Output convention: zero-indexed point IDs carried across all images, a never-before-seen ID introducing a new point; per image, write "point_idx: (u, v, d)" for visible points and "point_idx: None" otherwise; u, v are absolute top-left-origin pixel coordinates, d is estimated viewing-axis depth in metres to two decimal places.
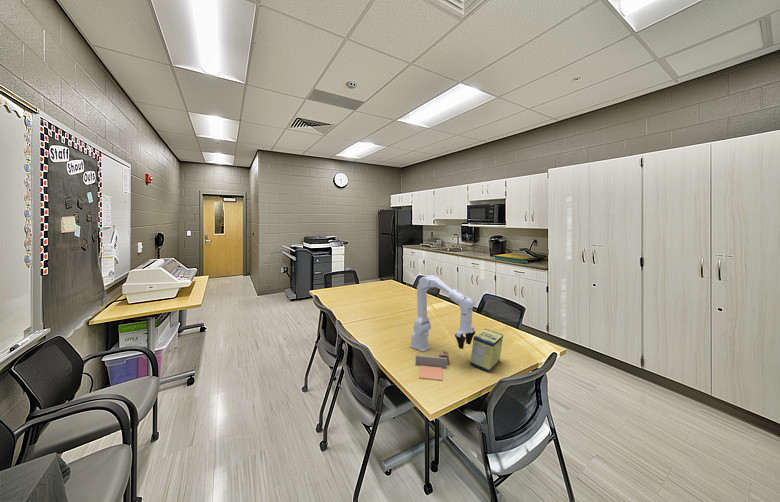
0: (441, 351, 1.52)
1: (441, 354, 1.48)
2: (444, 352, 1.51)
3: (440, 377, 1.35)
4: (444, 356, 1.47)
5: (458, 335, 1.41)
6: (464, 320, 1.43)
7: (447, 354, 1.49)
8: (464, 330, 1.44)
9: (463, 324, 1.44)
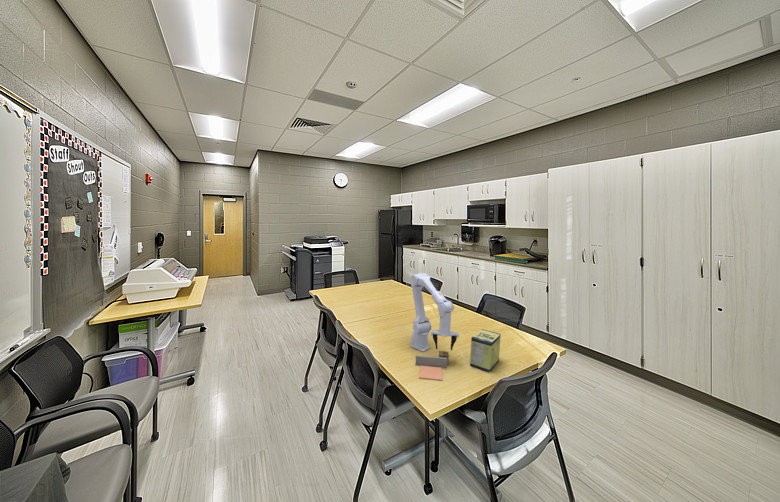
0: (441, 351, 1.52)
1: (441, 354, 1.48)
2: (444, 352, 1.51)
3: (440, 377, 1.35)
4: (444, 356, 1.47)
5: None
6: (441, 323, 1.46)
7: (447, 354, 1.49)
8: (439, 331, 1.48)
9: (439, 325, 1.48)
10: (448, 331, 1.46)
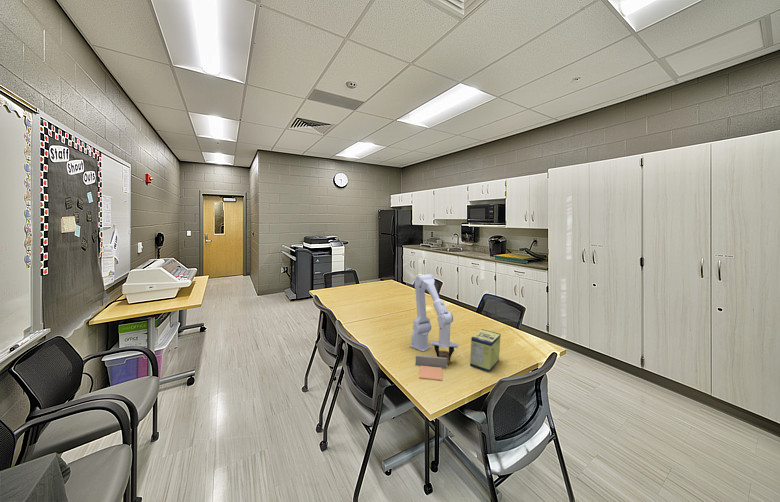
0: (441, 351, 1.52)
1: (441, 354, 1.48)
2: (444, 352, 1.51)
3: (440, 377, 1.35)
4: (444, 356, 1.47)
5: (430, 344, 1.50)
6: (441, 334, 1.47)
7: (447, 354, 1.49)
8: (439, 342, 1.49)
9: (439, 336, 1.49)
10: (448, 342, 1.47)
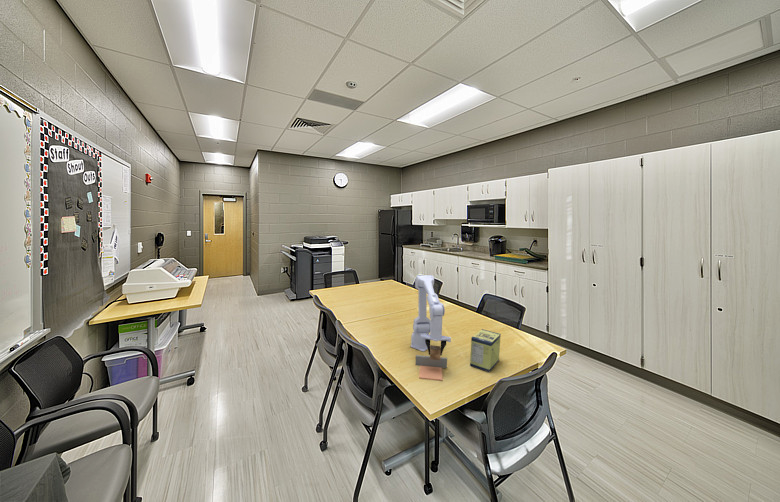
0: (433, 345, 1.43)
1: (433, 348, 1.39)
2: (436, 346, 1.42)
3: (440, 377, 1.35)
4: (436, 350, 1.38)
5: (421, 337, 1.41)
6: (431, 326, 1.38)
7: (439, 348, 1.40)
8: (430, 336, 1.39)
9: (430, 329, 1.40)
10: (439, 335, 1.37)
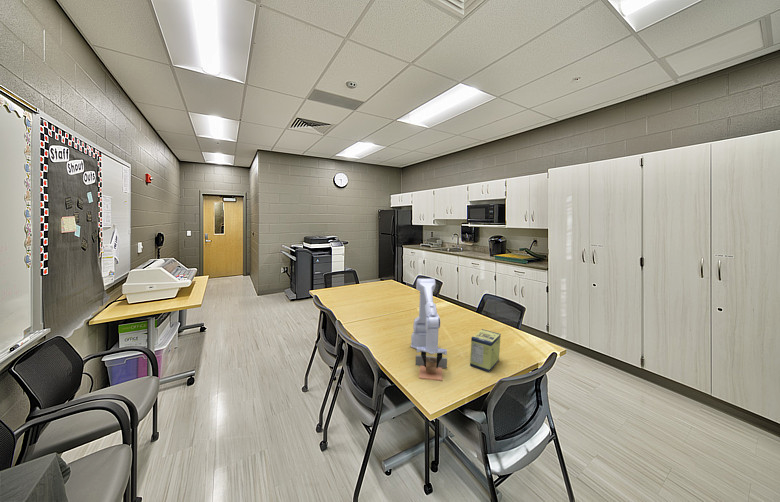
0: (429, 358, 1.40)
1: (428, 361, 1.37)
2: (432, 359, 1.39)
3: (440, 377, 1.35)
4: (431, 363, 1.36)
5: None
6: (426, 338, 1.36)
7: (435, 361, 1.37)
8: (426, 348, 1.37)
9: (426, 342, 1.37)
10: (435, 348, 1.35)
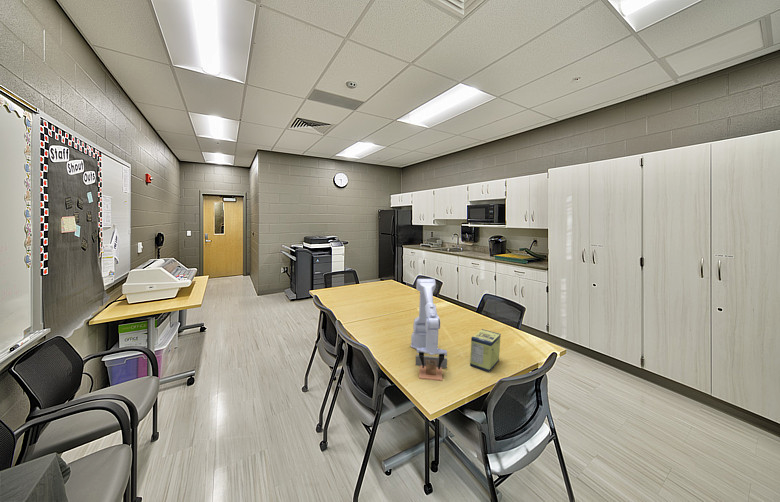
0: (428, 360, 1.41)
1: (428, 363, 1.37)
2: (432, 361, 1.39)
3: (440, 377, 1.35)
4: (431, 366, 1.36)
5: None
6: (426, 339, 1.36)
7: (435, 363, 1.37)
8: (426, 349, 1.37)
9: (426, 342, 1.37)
10: (435, 349, 1.35)
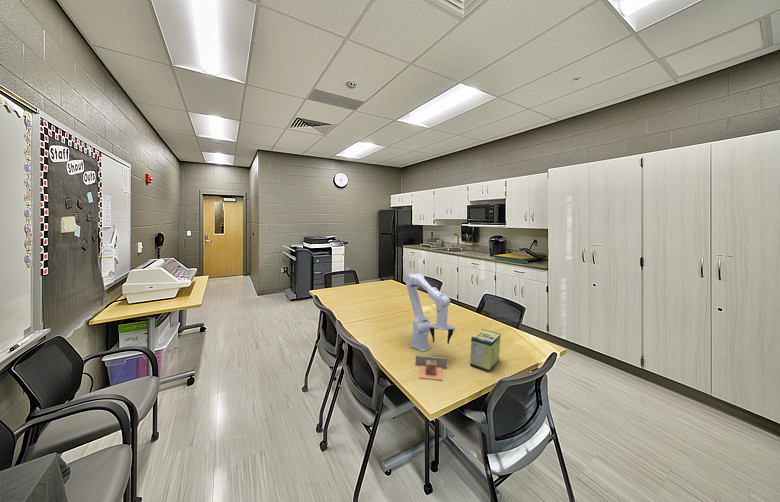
0: (428, 360, 1.41)
1: (428, 363, 1.37)
2: (432, 361, 1.39)
3: (440, 377, 1.35)
4: (431, 366, 1.36)
5: (427, 327, 1.53)
6: (438, 317, 1.49)
7: (435, 363, 1.37)
8: (436, 325, 1.52)
9: (436, 319, 1.52)
10: (445, 325, 1.49)
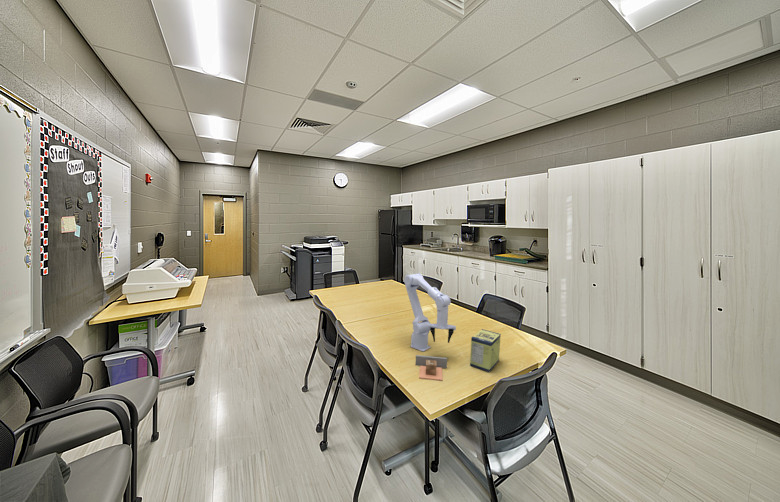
0: (428, 360, 1.41)
1: (428, 363, 1.37)
2: (432, 361, 1.39)
3: (440, 377, 1.35)
4: (431, 366, 1.36)
5: (428, 326, 1.54)
6: (439, 316, 1.50)
7: (435, 363, 1.37)
8: (436, 325, 1.52)
9: (437, 319, 1.52)
10: (445, 324, 1.50)
